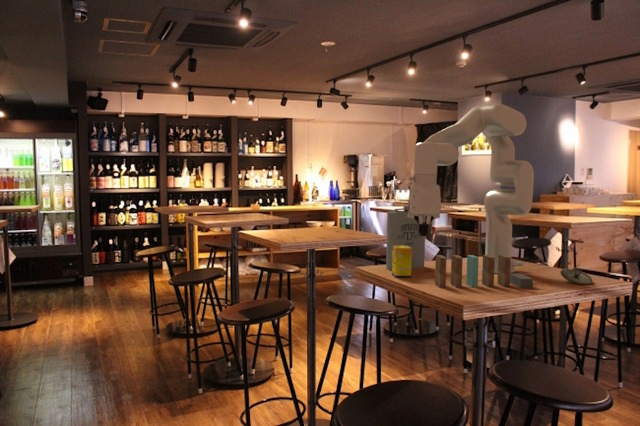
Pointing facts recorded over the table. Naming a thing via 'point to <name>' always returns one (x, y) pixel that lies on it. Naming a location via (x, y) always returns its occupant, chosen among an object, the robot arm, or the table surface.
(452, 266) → the tile
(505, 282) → the tile
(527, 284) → the block
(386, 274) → the table surface
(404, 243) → the flask
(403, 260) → the supplement box
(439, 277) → the tile
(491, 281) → the tile
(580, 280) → the lid
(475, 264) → the tile
